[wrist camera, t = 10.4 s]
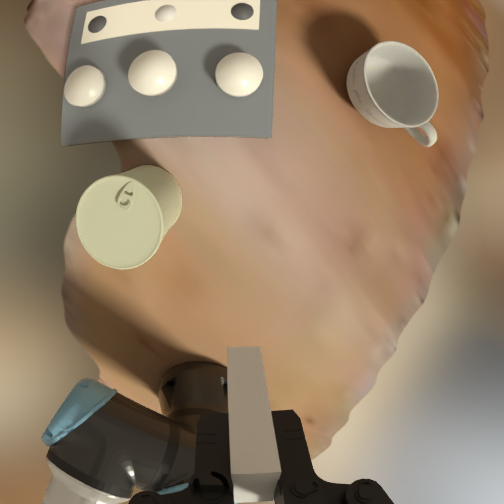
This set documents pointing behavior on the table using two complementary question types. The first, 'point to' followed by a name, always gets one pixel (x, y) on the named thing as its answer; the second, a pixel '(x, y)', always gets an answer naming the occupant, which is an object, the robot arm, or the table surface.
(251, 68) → the button
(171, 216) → the can
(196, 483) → the robot arm
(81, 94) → the button
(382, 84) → the teacup
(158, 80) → the button middle
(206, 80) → the button board
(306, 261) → the table surface
